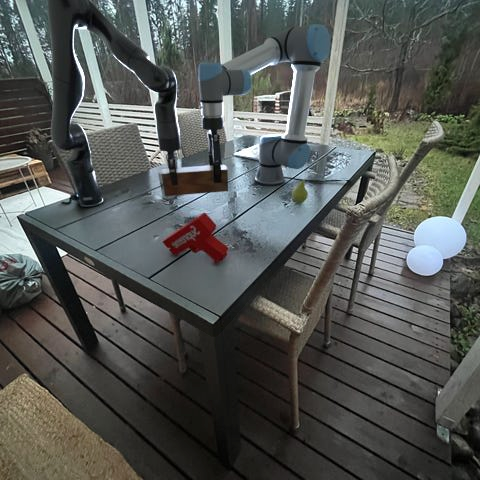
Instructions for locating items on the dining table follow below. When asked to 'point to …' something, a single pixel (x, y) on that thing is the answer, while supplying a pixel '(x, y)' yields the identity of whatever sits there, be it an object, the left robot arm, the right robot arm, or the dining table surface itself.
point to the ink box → (163, 187)
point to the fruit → (300, 192)
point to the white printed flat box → (249, 153)
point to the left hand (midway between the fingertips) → (175, 181)
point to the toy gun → (197, 239)
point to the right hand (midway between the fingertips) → (215, 176)
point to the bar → (194, 180)
